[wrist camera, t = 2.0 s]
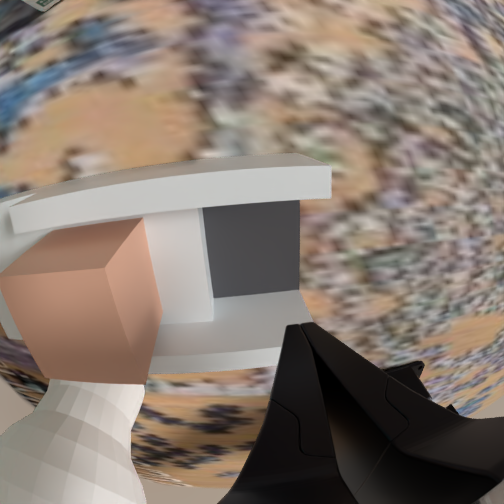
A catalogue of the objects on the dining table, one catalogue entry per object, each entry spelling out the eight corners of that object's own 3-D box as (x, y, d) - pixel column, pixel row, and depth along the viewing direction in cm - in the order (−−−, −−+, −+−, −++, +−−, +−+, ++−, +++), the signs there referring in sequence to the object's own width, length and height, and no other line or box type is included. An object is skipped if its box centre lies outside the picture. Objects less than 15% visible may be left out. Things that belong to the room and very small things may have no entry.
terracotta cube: (163, 311, 15) (145, 384, 10) (80, 315, 14) (45, 378, 10) (143, 217, 13) (104, 267, 8) (53, 230, 12) (-5, 277, 8)
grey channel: (297, 303, 18) (319, 358, 14) (23, 318, 17) (-8, 361, 12) (297, 152, 14) (331, 165, 10) (-15, 203, 13) (-63, 229, 9)
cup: (69, 410, 21) (33, 541, 7) (23, 323, 17) (-63, 478, 3) (173, 422, 22) (167, 579, 8) (147, 330, 18) (103, 566, 4)
